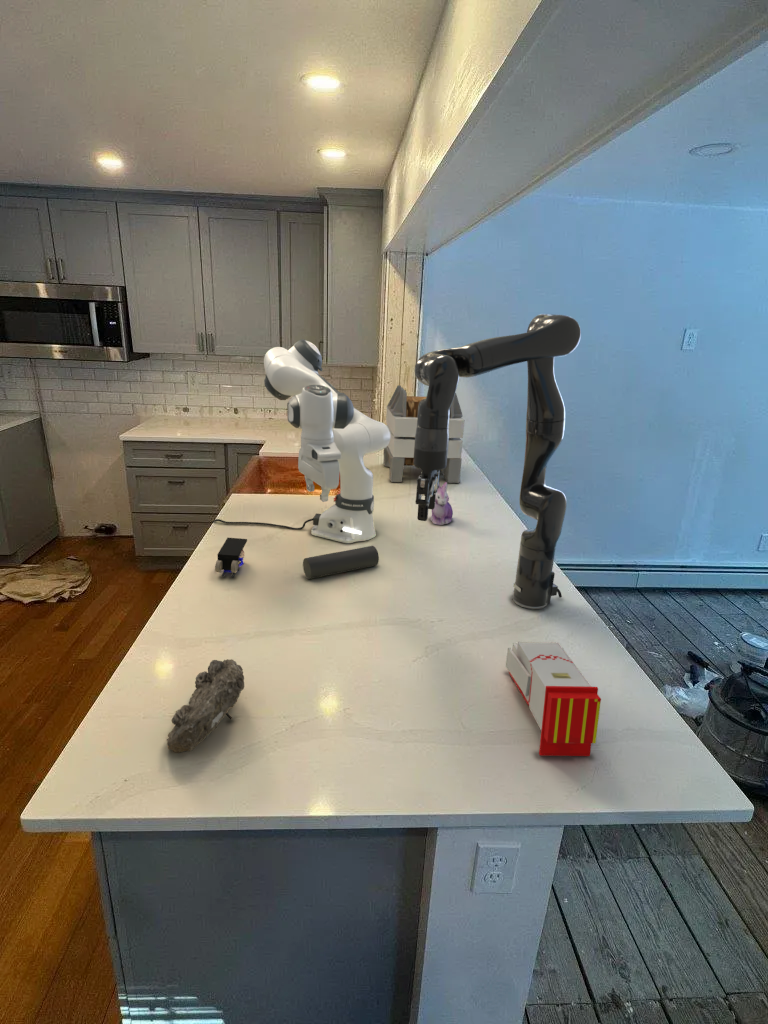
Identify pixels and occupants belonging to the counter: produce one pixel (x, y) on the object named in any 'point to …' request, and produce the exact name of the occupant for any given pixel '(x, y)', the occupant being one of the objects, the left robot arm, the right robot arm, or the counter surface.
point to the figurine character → (230, 556)
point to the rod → (340, 562)
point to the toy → (556, 697)
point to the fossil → (206, 705)
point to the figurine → (442, 507)
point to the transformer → (403, 436)
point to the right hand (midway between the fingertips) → (426, 514)
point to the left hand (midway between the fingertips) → (317, 495)
